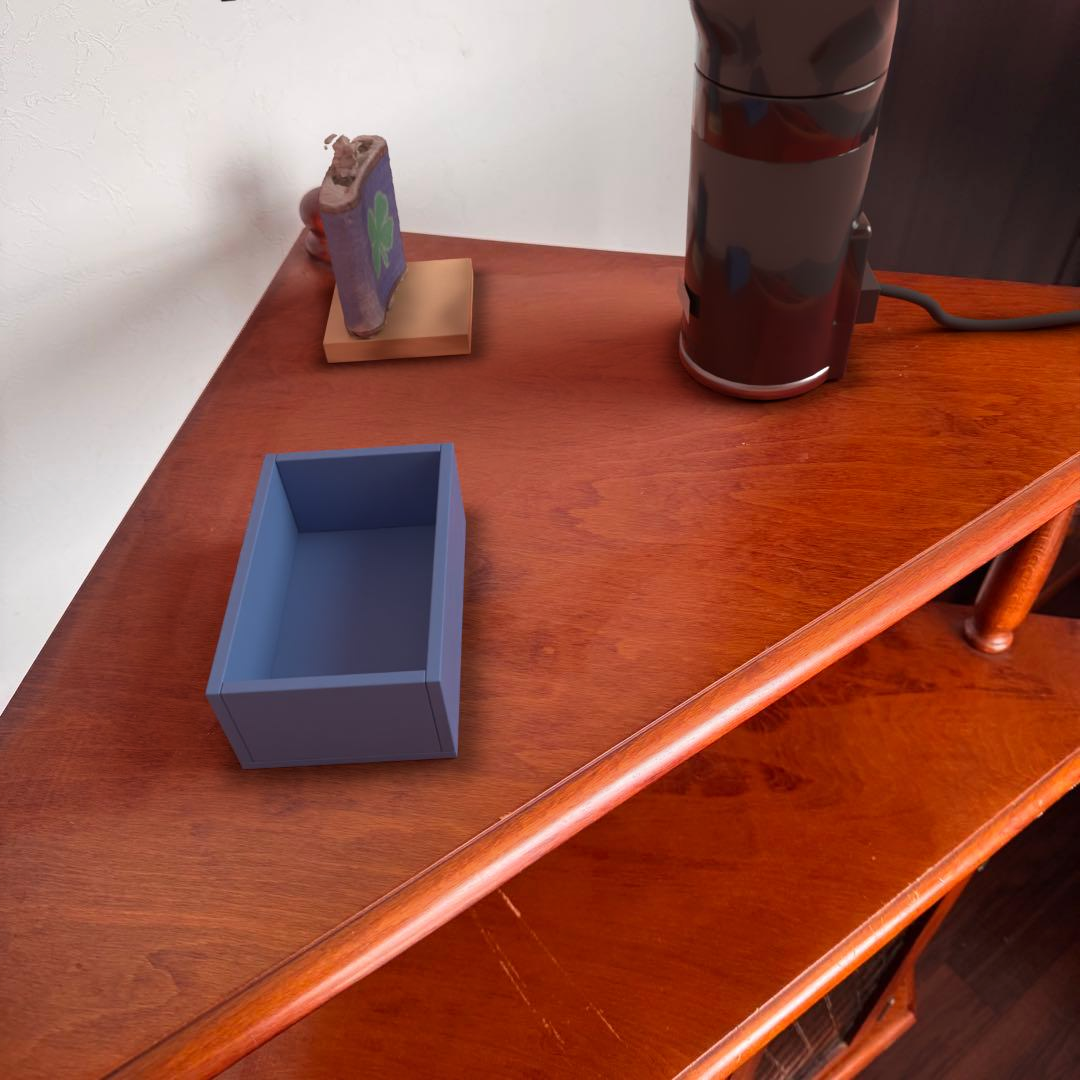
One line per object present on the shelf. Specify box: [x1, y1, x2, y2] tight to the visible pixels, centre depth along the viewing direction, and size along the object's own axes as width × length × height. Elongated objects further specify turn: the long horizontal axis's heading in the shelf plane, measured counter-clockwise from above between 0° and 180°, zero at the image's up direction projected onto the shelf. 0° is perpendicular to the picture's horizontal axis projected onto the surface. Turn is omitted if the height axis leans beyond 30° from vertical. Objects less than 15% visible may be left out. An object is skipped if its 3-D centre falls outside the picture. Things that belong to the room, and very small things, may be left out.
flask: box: [316, 133, 408, 339], centre depth 61 cm, size 9×3×11 cm, turn 172°
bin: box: [204, 441, 467, 770], centre depth 46 cm, size 9×14×6 cm, turn 1°
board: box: [322, 257, 474, 364], centre depth 66 cm, size 9×9×2 cm
